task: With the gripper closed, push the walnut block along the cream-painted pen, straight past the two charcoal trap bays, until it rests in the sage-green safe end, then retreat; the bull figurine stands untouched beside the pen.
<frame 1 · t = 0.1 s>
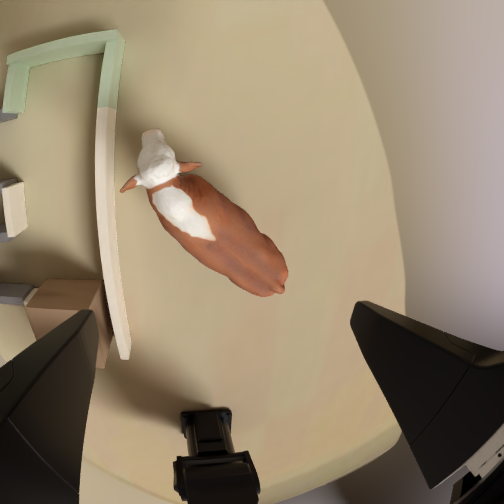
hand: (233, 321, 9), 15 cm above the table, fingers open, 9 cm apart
bull figurine: (203, 204, 22), on the table
trap pen: (63, 213, 19), on the table
walnut block: (79, 307, 23), on the table
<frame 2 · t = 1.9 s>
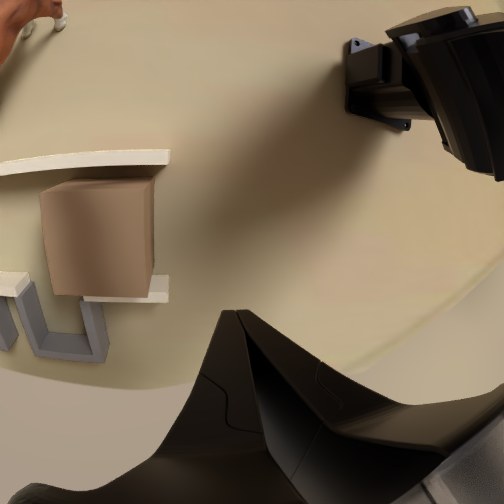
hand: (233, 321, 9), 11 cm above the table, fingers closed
bull figurine: (11, 70, 11), on the table
trap pen: (10, 224, 15), on the table
walnut block: (112, 220, 18), on the table
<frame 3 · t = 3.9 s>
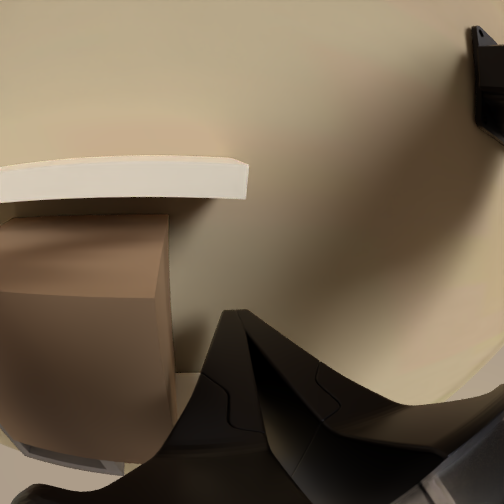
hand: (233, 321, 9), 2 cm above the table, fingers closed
walnut block: (91, 295, 9), on the table, touching gripper
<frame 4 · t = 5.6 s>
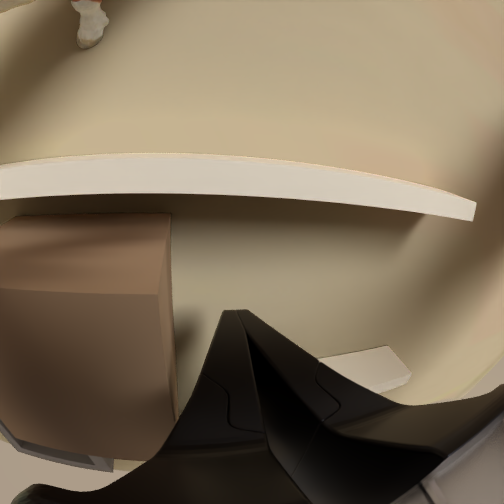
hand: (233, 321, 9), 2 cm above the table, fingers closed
trap pen: (122, 291, 9), on the table
walnut block: (93, 293, 9), on the table, touching gripper
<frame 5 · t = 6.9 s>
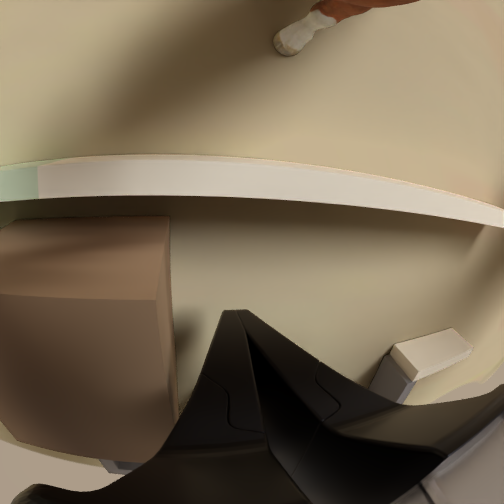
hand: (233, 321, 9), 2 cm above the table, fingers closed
trap pen: (295, 290, 11), on the table
walnut block: (93, 296, 9), on the table, touching gripper
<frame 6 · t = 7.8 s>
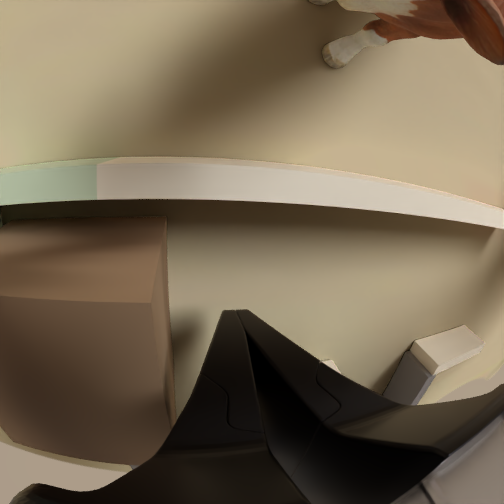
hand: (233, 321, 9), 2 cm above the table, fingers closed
bull figurine: (354, 3, 7), on the table
trap pen: (334, 291, 11), on the table
walnut block: (90, 297, 9), on the table, touching gripper
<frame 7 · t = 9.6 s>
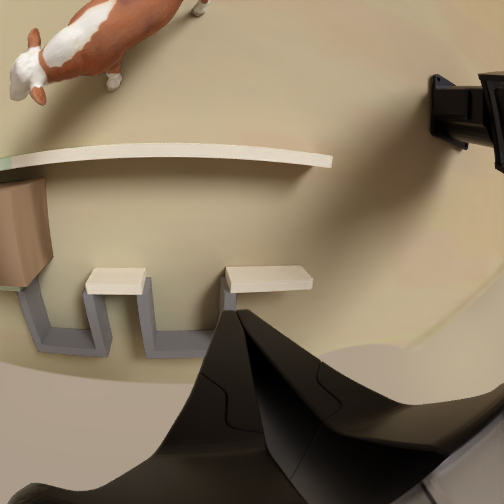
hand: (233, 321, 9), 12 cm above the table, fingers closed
bull figurine: (132, 45, 14), on the table
trap pen: (128, 214, 18), on the table
walnut block: (19, 219, 16), on the table
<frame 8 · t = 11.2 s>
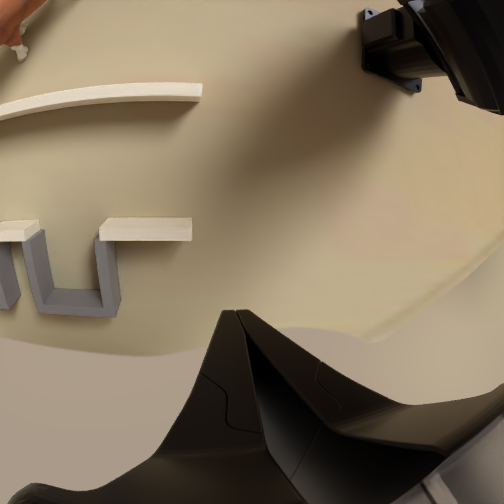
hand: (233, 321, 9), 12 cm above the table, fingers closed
bull figurine: (41, 22, 11), on the table
trap pen: (25, 167, 15), on the table
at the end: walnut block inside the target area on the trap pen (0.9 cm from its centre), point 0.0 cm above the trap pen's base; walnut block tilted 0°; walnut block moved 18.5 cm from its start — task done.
